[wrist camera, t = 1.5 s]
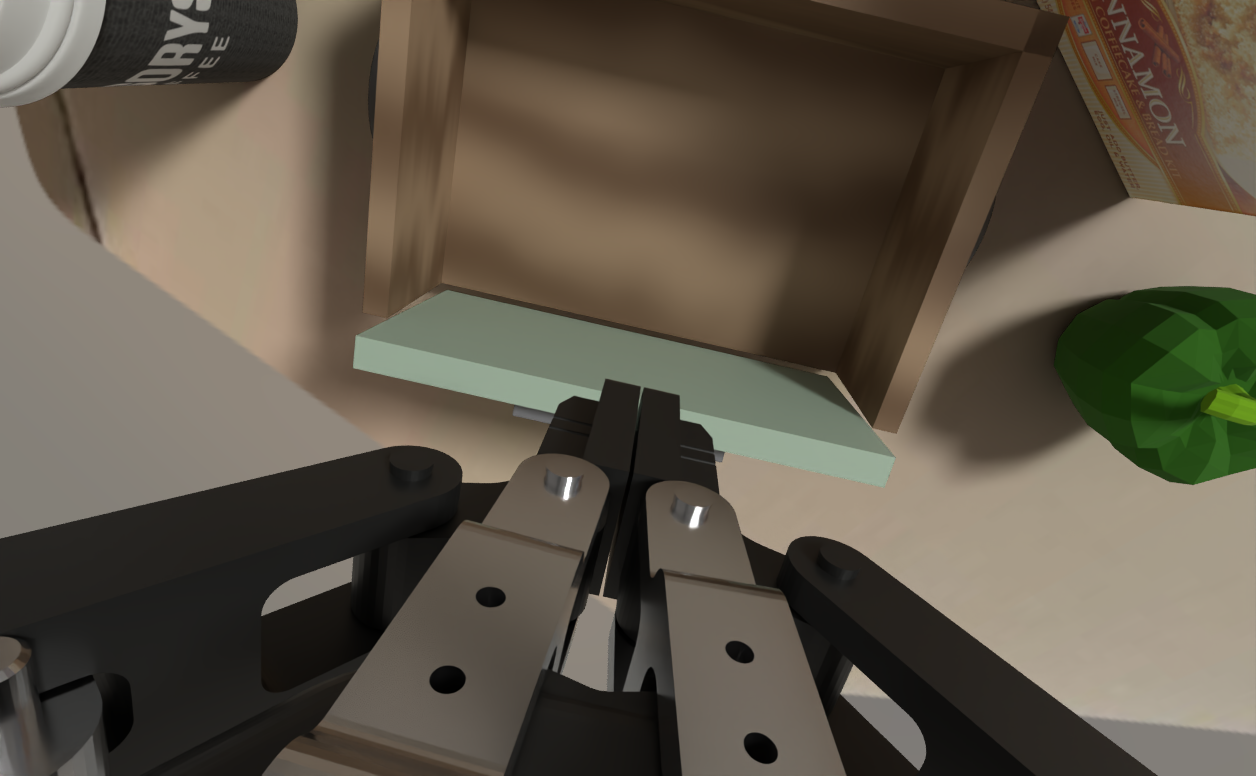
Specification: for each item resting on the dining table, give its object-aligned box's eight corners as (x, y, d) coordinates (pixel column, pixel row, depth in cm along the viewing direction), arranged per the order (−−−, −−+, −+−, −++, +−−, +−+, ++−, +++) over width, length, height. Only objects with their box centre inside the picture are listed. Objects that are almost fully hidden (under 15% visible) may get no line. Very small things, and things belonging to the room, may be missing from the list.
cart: (438, -74, 29) (340, -158, 20) (990, 57, 29) (1118, 28, 21) (408, 261, 34) (323, 303, 26) (871, 367, 35) (934, 442, 26)
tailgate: (446, 289, 32) (355, 335, 23) (827, 376, 32) (895, 457, 23) (442, 328, 33) (350, 389, 23) (815, 413, 33) (876, 507, 24)
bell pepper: (1239, 333, 33) (1462, 413, 23) (1099, 445, 35) (1250, 556, 26) (1132, 227, 31) (1325, 267, 22) (994, 352, 34) (1115, 435, 25)
